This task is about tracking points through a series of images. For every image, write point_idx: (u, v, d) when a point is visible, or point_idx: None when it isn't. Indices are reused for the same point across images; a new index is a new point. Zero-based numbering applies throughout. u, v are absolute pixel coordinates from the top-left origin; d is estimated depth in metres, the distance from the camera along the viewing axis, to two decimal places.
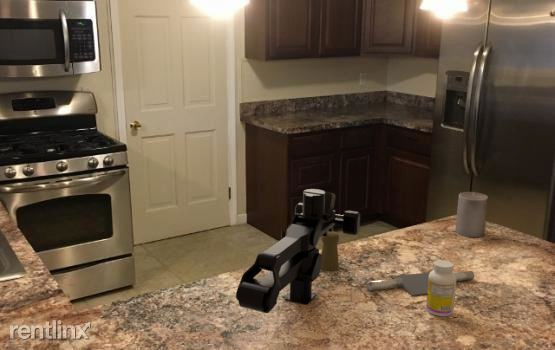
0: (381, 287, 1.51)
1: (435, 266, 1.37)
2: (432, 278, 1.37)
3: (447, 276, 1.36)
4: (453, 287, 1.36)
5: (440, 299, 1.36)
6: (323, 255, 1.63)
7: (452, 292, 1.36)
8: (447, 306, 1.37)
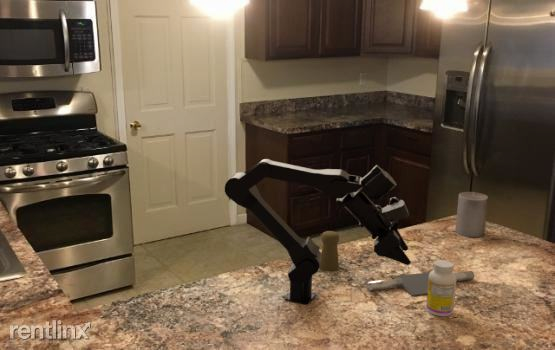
0: (381, 287, 1.51)
1: (435, 266, 1.37)
2: (433, 278, 1.37)
3: (447, 276, 1.36)
4: (453, 287, 1.36)
5: (440, 299, 1.36)
6: (323, 255, 1.63)
7: (452, 292, 1.36)
8: (447, 306, 1.37)
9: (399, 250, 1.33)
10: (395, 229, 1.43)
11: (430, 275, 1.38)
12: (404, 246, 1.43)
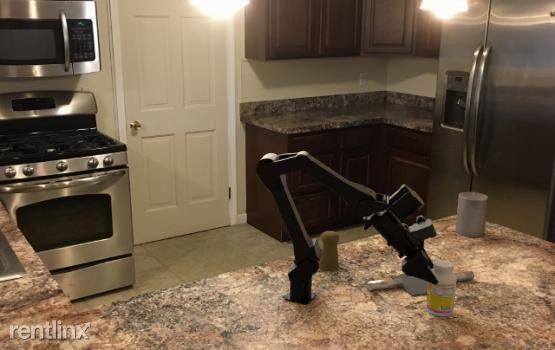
0: (381, 287, 1.51)
1: (435, 266, 1.37)
2: None
3: (447, 276, 1.36)
4: (453, 287, 1.36)
5: (440, 299, 1.36)
6: (323, 255, 1.63)
7: (452, 292, 1.36)
8: (447, 306, 1.37)
9: (427, 270, 1.32)
10: (421, 247, 1.43)
11: None
12: (430, 265, 1.43)
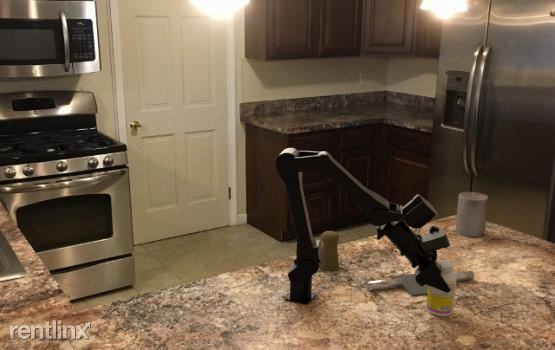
0: (381, 287, 1.51)
1: None
2: None
3: (447, 276, 1.36)
4: (453, 287, 1.36)
5: (440, 299, 1.36)
6: (323, 255, 1.63)
7: (452, 292, 1.36)
8: (447, 306, 1.37)
9: (440, 278, 1.33)
10: (434, 259, 1.42)
11: None
12: None
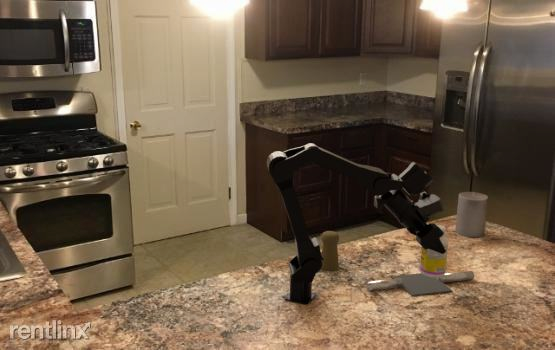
0: (381, 287, 1.51)
1: None
2: None
3: (441, 238, 1.43)
4: (447, 248, 1.44)
5: (436, 260, 1.44)
6: (323, 255, 1.63)
7: (446, 253, 1.44)
8: (442, 267, 1.44)
9: (438, 240, 1.40)
10: None
11: None
12: None
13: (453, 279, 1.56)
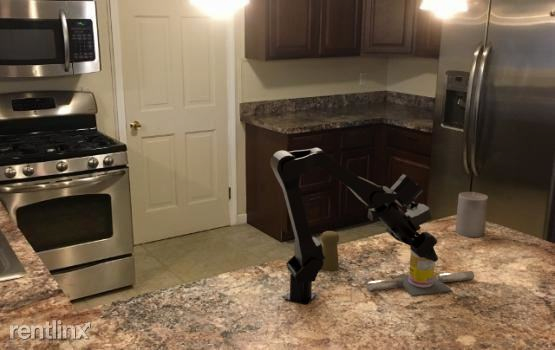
0: (381, 287, 1.51)
1: None
2: None
3: None
4: None
5: (426, 272, 1.51)
6: None
7: (434, 264, 1.52)
8: (431, 277, 1.52)
9: (432, 249, 1.46)
10: None
11: None
12: None
13: (453, 279, 1.56)
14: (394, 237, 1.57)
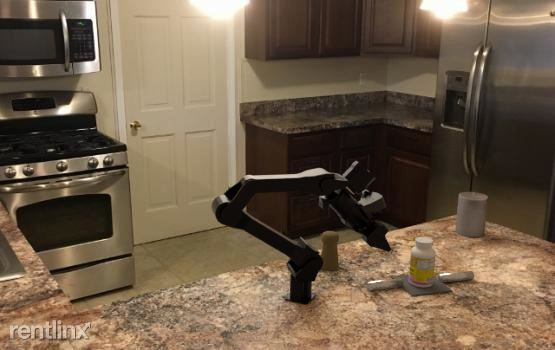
0: (381, 287, 1.51)
1: (419, 243, 1.50)
2: (418, 254, 1.50)
3: (430, 250, 1.51)
4: None
5: (426, 272, 1.51)
6: (323, 255, 1.63)
7: (434, 264, 1.52)
8: (431, 277, 1.52)
9: (384, 239, 1.42)
10: None
11: (414, 252, 1.51)
12: None
13: (453, 279, 1.56)
14: (349, 227, 1.53)
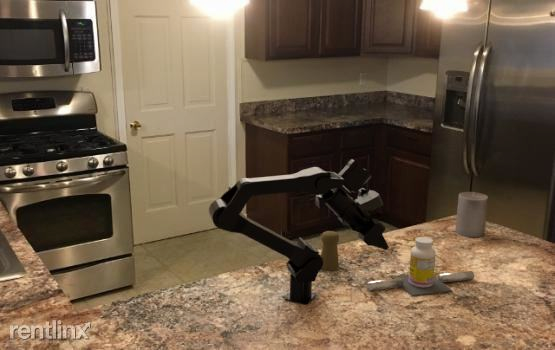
0: (381, 287, 1.51)
1: (419, 243, 1.50)
2: (418, 255, 1.50)
3: (430, 250, 1.51)
4: (434, 259, 1.52)
5: (426, 272, 1.51)
6: (323, 255, 1.63)
7: (434, 264, 1.52)
8: (431, 277, 1.52)
9: (381, 237, 1.41)
10: None
11: (414, 252, 1.51)
12: None
13: (453, 279, 1.56)
14: (346, 225, 1.52)
